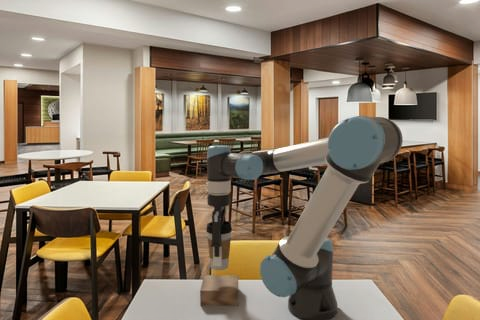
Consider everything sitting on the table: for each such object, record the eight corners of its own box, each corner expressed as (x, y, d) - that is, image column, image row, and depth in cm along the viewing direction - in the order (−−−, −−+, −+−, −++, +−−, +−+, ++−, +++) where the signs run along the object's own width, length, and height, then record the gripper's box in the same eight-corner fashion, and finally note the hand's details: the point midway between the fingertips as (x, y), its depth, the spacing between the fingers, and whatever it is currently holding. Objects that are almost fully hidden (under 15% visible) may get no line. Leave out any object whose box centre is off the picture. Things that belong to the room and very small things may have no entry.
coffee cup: (228, 272, 120) (228, 227, 118) (203, 270, 122) (202, 225, 120) (234, 263, 128) (234, 220, 126) (210, 261, 130) (210, 218, 128)
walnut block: (238, 288, 132) (238, 275, 131) (238, 305, 120) (237, 290, 119) (204, 289, 132) (203, 275, 131) (200, 305, 120) (200, 290, 119)
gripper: (212, 187, 133) (213, 249, 135) (201, 199, 112) (202, 272, 115) (233, 187, 132) (233, 250, 134) (226, 199, 112) (226, 273, 114)
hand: (219, 260), depth 125 cm, fingers closed on coffee cup, 8 cm apart
